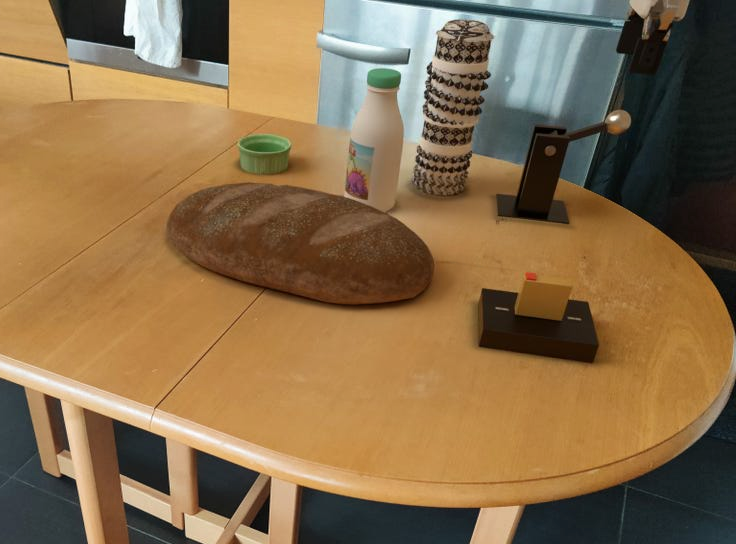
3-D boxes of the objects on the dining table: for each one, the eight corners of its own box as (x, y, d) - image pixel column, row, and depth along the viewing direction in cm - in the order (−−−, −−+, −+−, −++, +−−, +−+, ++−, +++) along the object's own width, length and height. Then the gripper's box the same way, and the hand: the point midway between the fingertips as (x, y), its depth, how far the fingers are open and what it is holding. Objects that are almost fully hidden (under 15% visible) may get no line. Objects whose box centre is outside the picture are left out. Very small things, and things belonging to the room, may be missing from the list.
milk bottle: (388, 196, 113) (406, 64, 101) (398, 218, 107) (419, 79, 95) (339, 197, 112) (351, 64, 100) (347, 219, 106) (361, 79, 94)
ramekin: (267, 154, 126) (268, 130, 124) (301, 170, 121) (302, 144, 118) (227, 166, 122) (226, 140, 119) (260, 183, 116) (260, 156, 114)
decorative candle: (422, 206, 110) (451, 31, 95) (399, 182, 117) (423, 17, 102) (476, 201, 112) (513, 29, 97) (450, 178, 119) (481, 15, 104)
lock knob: (560, 313, 80) (571, 277, 78) (561, 321, 79) (573, 284, 76) (514, 307, 81) (524, 271, 78) (514, 314, 80) (525, 278, 77)
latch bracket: (561, 207, 110) (585, 125, 103) (566, 230, 104) (593, 144, 97) (494, 200, 112) (513, 118, 105) (496, 222, 106) (516, 137, 98)
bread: (399, 337, 81) (409, 273, 76) (132, 260, 95) (126, 201, 90) (451, 257, 97) (462, 199, 92) (215, 200, 111) (214, 147, 106)
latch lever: (630, 125, 99) (626, 103, 98) (634, 133, 97) (631, 110, 95) (539, 153, 104) (534, 132, 103) (541, 161, 102) (536, 140, 100)
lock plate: (581, 323, 84) (588, 300, 83) (591, 367, 77) (600, 343, 76) (477, 308, 87) (482, 286, 85) (477, 351, 80) (483, 327, 78)
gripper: (742, -82, 75) (680, 84, 86) (700, -97, 89) (651, 49, 99) (666, -86, 77) (614, 79, 87) (636, -99, 90) (594, 44, 101)
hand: (634, 63), depth 93 cm, fingers open, 9 cm apart
